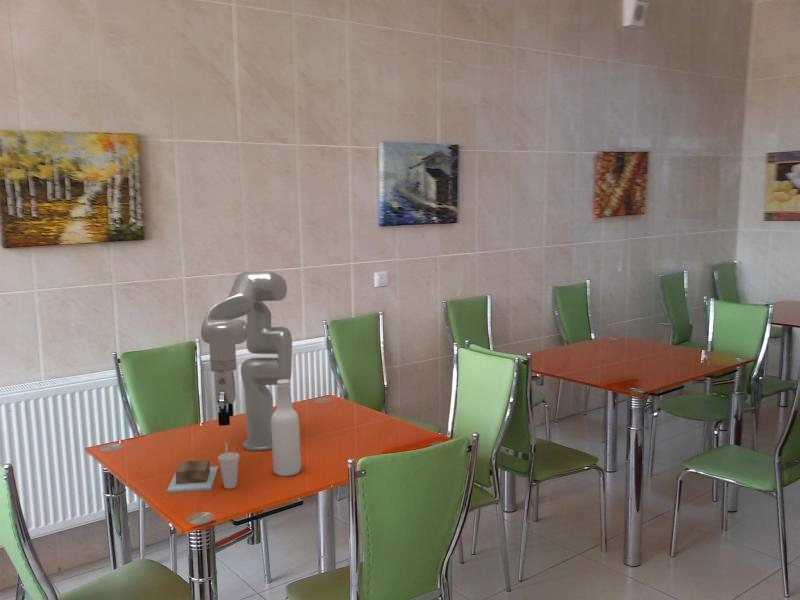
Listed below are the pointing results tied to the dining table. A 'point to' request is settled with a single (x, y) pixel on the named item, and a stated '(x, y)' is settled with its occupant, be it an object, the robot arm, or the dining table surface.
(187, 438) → the dining table surface
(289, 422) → the alcohol
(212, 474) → the base
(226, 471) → the smoothie
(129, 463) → the dining table surface
